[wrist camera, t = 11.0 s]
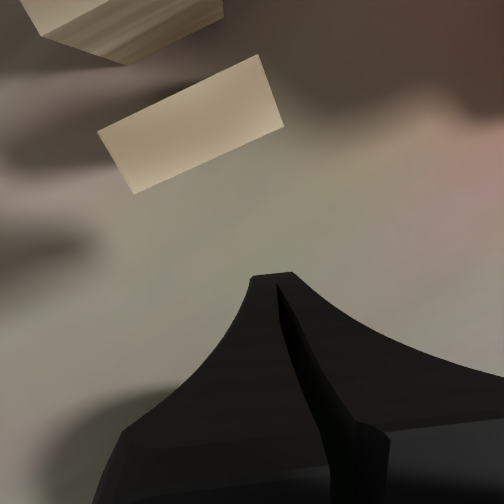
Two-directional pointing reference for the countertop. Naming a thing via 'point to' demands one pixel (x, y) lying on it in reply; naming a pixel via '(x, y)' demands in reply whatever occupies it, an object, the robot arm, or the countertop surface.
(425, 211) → the countertop surface
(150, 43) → the domino
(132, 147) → the domino
